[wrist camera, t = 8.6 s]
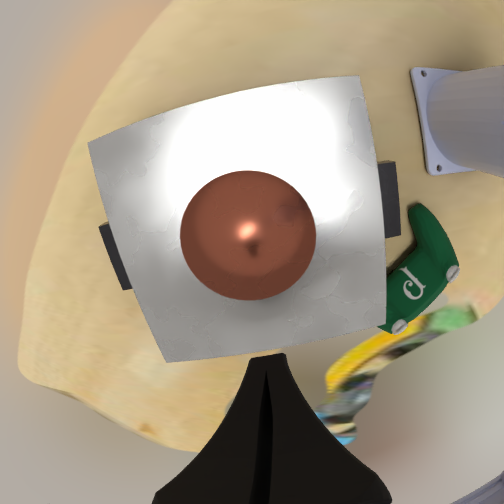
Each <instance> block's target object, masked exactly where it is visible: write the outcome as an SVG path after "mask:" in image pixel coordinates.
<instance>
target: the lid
mask: <svg viewBox="0 0 504 504" xmlns="http://www.w3.org/2000/svg"><path fill="white" fill-rule="evenodd" d="M88 147H89V152H90V156H91V160H92V164H93V168H94V172H95V176H96V180H97V184H98V188H99V191H100V195H101V198H102V202H103V205H104V208H105V212H106V215H107V218H108V221H109V224H110V228H111V231H112V234H113V237H114V240H115V242H116V245H117V248H118V251H119V254H120V257H121V259H122V262H123V265H124V267H125V270H126V273H127V275H128V278H129V280H130V283H131V285H132V288H133V290H134V293H135V295H136V298H137V300H138V302H139V305H140V307H141V310H142V312H143V314H144V316H145V319H146V321H147V323H148V325H149V327H150V330H151V332H152V334H153V336H154V338H155V340H156V342H157V345H158V347H159V349H160V351H161V353H162V355H163V357H164V359H165V361H166V363H168V362H180V361H190V360H200V359H209V358H217V357H225V356H233V355H240V354H247V353H253V352H260V351H266V350H272V349H277V348H283V347H288V346H294V345H299V344H304V343H309V342H313V341H318V340H323V339H327V338H332V337H336V336H340V335H345V334H349V333H353V332H357V331H361V330H365V329H369V328H372V327H376V326H380V325H384V324H386V254H385V235H384V221H383V210H382V200H381V191H380V182H379V175H378V167H377V161H376V154H375V148H374V142H373V137H372V131H371V126H370V121H369V116H368V111H367V107H366V102H365V98H364V94H363V89H362V85H361V81H360V78H359V75H356V76H341V77H329V78H319V79H311V80H303V81H295V82H289V83H282V84H276V85H270V86H265V87H259V88H254V89H249V90H245V91H240V92H236V93H231V94H227V95H223V96H219V97H215V98H211V99H207V100H204V101H200V102H196V103H193V104H190V105H186V106H183V107H180V108H176V109H173V110H170V111H167V112H164V113H161V114H158V115H155V116H152V117H150V118H147V119H144V120H141V121H139V122H136V123H133V124H131V125H128V126H126V127H123V128H121V129H118V130H116V131H113V132H111V133H109V134H106V135H104V136H102V137H99V138H97V139H95V140H93V141H91V142H88Z"/></svg>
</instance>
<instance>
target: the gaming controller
mask: <svg viewBox="0 0 504 504" xmlns="http://www.w3.org/2000/svg"><path fill="white" fill-rule="evenodd" d="M408 215H409V219H410V223H411V226H412V228H413V231H414V234H415V237H416V240H417V247H416V249H415V250H414V251H413V252H412V253H411V254H410V255H409V256H408V257H407V258H406V259H405V260H404V261H403V262H402V263H401V264H400V265H399V266H398V267H397V268H396V269H395V271H394V272H393V273H392V274H391V275H389V276H388V277H387V278H386V324H384V325H380V326H377V327H378V328H380V329H382V330H384V331H386V332H388V333H391V334H392V333H393V334H394V335H395V334H399V333H401V332H403V331H404V330H405V329H406V327H407V326H408V324H407V323H408V322H410V321H412V320H413V319H415V318H416V317H417V316H418V315H419V314H420V313H421V312H423V311H424V310H425V309H426V308H427V307H428V306H429V305H430V304H431V303H432V302H433V301H434V300H435V299H436V297H437V296H438V295H439V294H440V293H441V292H442V291H443V290H444V288H445V287H446V285H447V283H448V282H450V283H451V282H453V281H454V280H455V279H456V278H457V276H458V274H459V271H460V269H459V263H458V260H457V257H456V255H455V252H454V249H453V247H452V245H451V242H450V240H449V238H448V236H447V234H446V232H445V231H444V229H443V228H442V226H441V225H440V223H439V221H438V220H437V219H436V217H435V216H434V215H433V214H432V213H431V212H430V211H429V210H428V209H427V208H426V207H425V206H423V205H422V204H417V205H416V206H414V207H413V208H412V209H410V210H409V212H408Z"/></svg>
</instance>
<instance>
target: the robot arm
mask: <svg viewBox="0 0 504 504" xmlns="http://www.w3.org/2000/svg"><path fill="white" fill-rule="evenodd" d="M421 72H423V74H424V77H423V76H422V75H421ZM410 74H411V78H412V82H413V87H414V91H415V96H416V101H417V106H418V111H419V116H420V122H421V129H422V135H423V143H424V151H425V159H426V169H427V172H428V173H429V174H430V175H442V174H450V173H458V172H467V171H476V170H478V171H481V172H485V173H489V174H492V175H495V176H499V177H502V178H504V65H501V66H494V67H487V68H481V69H475V70H470V71H465V72H462V71H455V70H446V69H436V68H423V67H415V68H412V69H411V71H410ZM437 165H439V170H438V171H437ZM391 503H392V498H391V495H390V493H389V491H388V489H387V487H386V486H385V484H384V483H383V482H382V480H381V479H380V478H379V476H378V475H377V474H376V473H375V472H374V471H372V470H371V469H370V468H368V467H367V466H366V465H364V464H363V463H362V462H361V461H359V460H358V459H357V458H356V457H355V456H354V455H353V454H351V453H350V452H349V451H348V450H347V449H346V448H345V447H344V446H343V445H342V444H341V443H340V442H339V441H338V440H337V439H336V438H335V437H334V436H333V435H332V434H331V433H330V431H329V430H328V429H327V428H326V427H325V426H324V424H323V423H322V422H321V421H320V419H319V418H318V417H317V416H316V414H315V413H314V411H313V410H312V409H311V407H310V406H309V404H308V403H307V401H306V400H305V398H304V397H303V395H302V393H301V391H300V390H299V388H298V386H297V384H296V382H295V380H294V378H293V376H292V374H291V371H290V369H289V366H288V363H287V358H286V355H285V354H284V353H279V354H273V355H267V356H261V357H255V358H251V359H250V360H249V364H248V367H247V370H246V373H245V376H244V378H243V381H242V383H241V386H240V388H239V390H238V392H237V395H236V397H235V399H234V401H233V403H232V405H231V407H230V409H229V411H228V412H227V414H226V416H225V418H224V419H223V421H222V423H221V424H220V426H219V427H218V429H217V430H216V432H215V433H214V435H213V436H212V438H211V439H210V440H209V441H208V443H207V444H206V445H205V447H204V448H203V449H202V450H201V452H200V453H199V454H198V455H197V456H196V457H195V458H194V459H193V460H192V461H191V462H190V464H189V465H187V466H186V467H185V468H184V469H183V470H182V471H181V472H180V473H179V474H178V475H177V476H176V477H175V478H174V479H173V480H172V481H170V482H169V483H168V484H166V485H165V486H164V487H163V488H161V489H160V490H159V491H157V492H156V493H155V496H154V499H153V501H152V504H391ZM451 504H504V471H503V472H502V473H501V474H500V475H499V476H497V477H496V478H495V479H493V480H491V481H490V482H488V483H487V484H485V485H483V486H482V487H480V488H478V489H477V490H475V491H473V492H472V493H470V494H468V495H466V496H464V497H463V498H461V499H459V500H457V501H455V502H453V503H451Z"/></svg>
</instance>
